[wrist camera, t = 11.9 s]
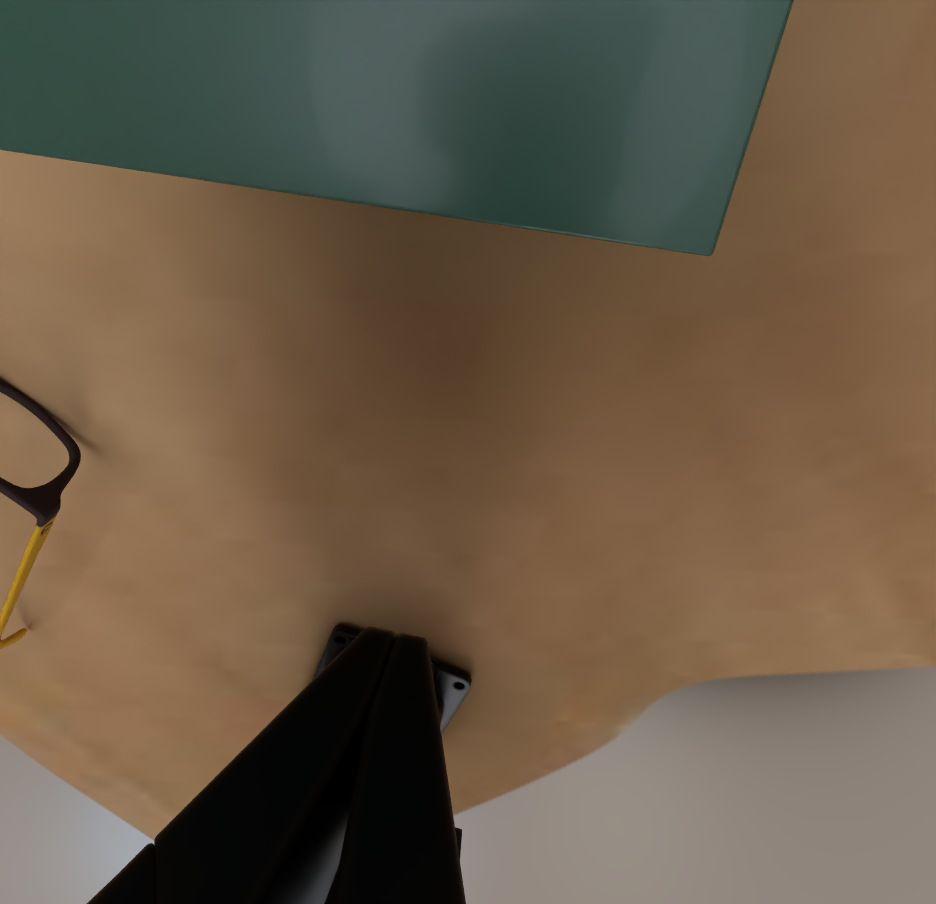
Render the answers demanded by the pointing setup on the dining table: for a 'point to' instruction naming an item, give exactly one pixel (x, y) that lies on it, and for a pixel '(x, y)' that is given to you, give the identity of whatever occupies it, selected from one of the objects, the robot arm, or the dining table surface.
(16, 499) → the eyeglasses
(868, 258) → the dining table surface
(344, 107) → the lid
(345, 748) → the robot arm
